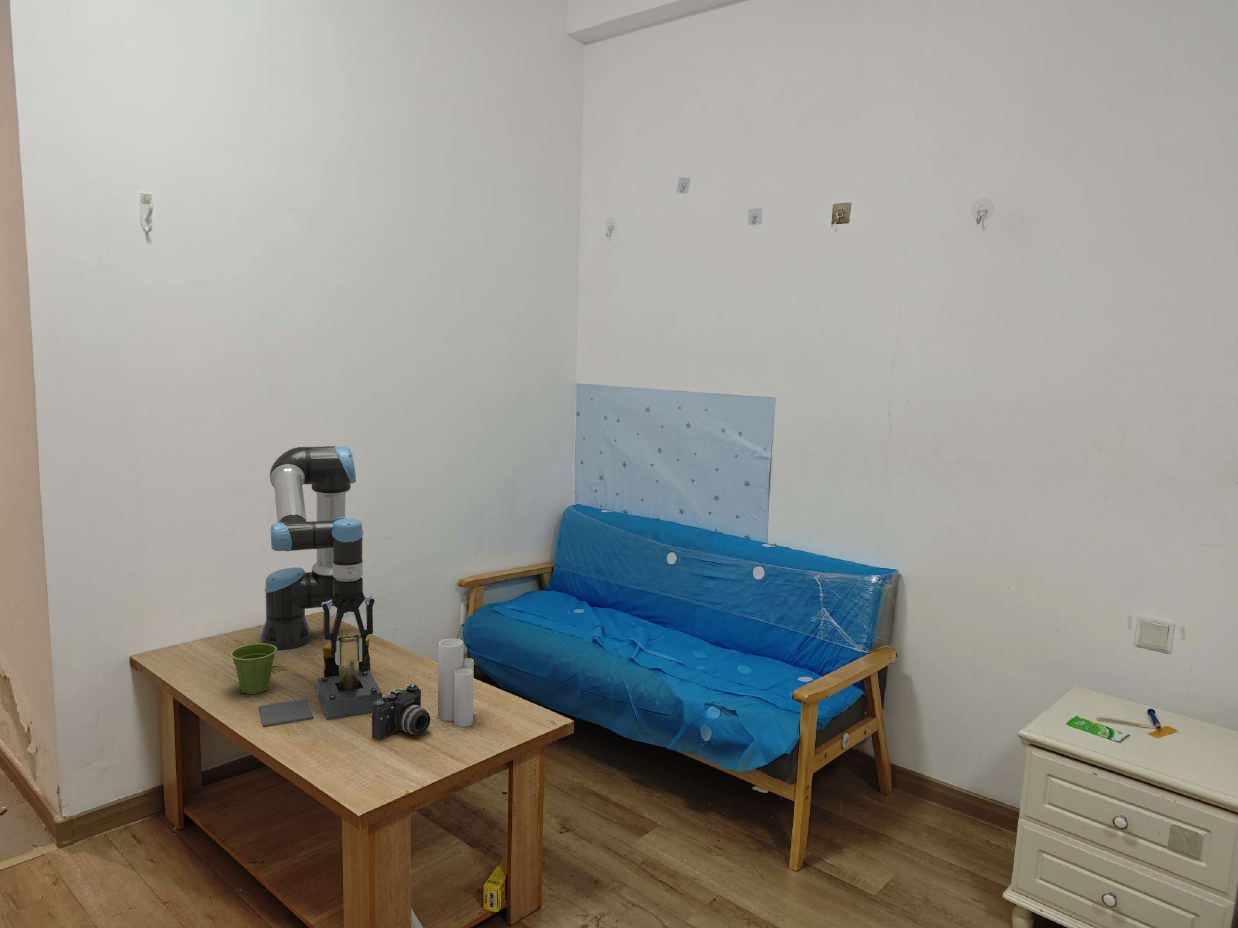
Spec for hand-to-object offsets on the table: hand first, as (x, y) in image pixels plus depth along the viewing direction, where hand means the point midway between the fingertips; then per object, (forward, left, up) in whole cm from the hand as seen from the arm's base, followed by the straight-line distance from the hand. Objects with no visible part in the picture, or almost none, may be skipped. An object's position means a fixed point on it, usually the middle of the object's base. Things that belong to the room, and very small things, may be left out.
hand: (348, 661), depth 221 cm
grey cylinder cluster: (+21, +24, -12) cm, 34 cm away
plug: (0, 0, -7) cm, 7 cm away
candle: (-19, +3, -12) cm, 23 cm away
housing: (+1, 0, -12) cm, 12 cm away
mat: (+1, -16, -12) cm, 20 cm away
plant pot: (-18, -22, -12) cm, 31 cm away
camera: (+23, +9, -12) cm, 27 cm away
